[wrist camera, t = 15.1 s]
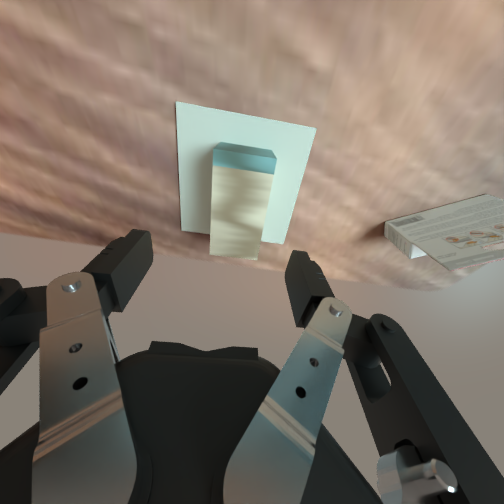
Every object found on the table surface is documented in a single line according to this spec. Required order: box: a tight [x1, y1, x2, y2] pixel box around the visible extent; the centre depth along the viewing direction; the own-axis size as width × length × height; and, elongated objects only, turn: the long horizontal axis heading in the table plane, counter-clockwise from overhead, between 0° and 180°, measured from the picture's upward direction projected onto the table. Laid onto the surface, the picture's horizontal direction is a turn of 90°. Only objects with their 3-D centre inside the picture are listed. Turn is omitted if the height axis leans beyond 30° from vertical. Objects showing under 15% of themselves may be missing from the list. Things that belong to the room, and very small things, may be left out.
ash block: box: [210, 142, 277, 260], centre depth 20 cm, size 5×5×10 cm
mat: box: [176, 102, 317, 244], centre depth 22 cm, size 13×13×1 cm
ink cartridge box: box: [384, 194, 504, 271], centre depth 20 cm, size 2×11×10 cm, turn 109°
